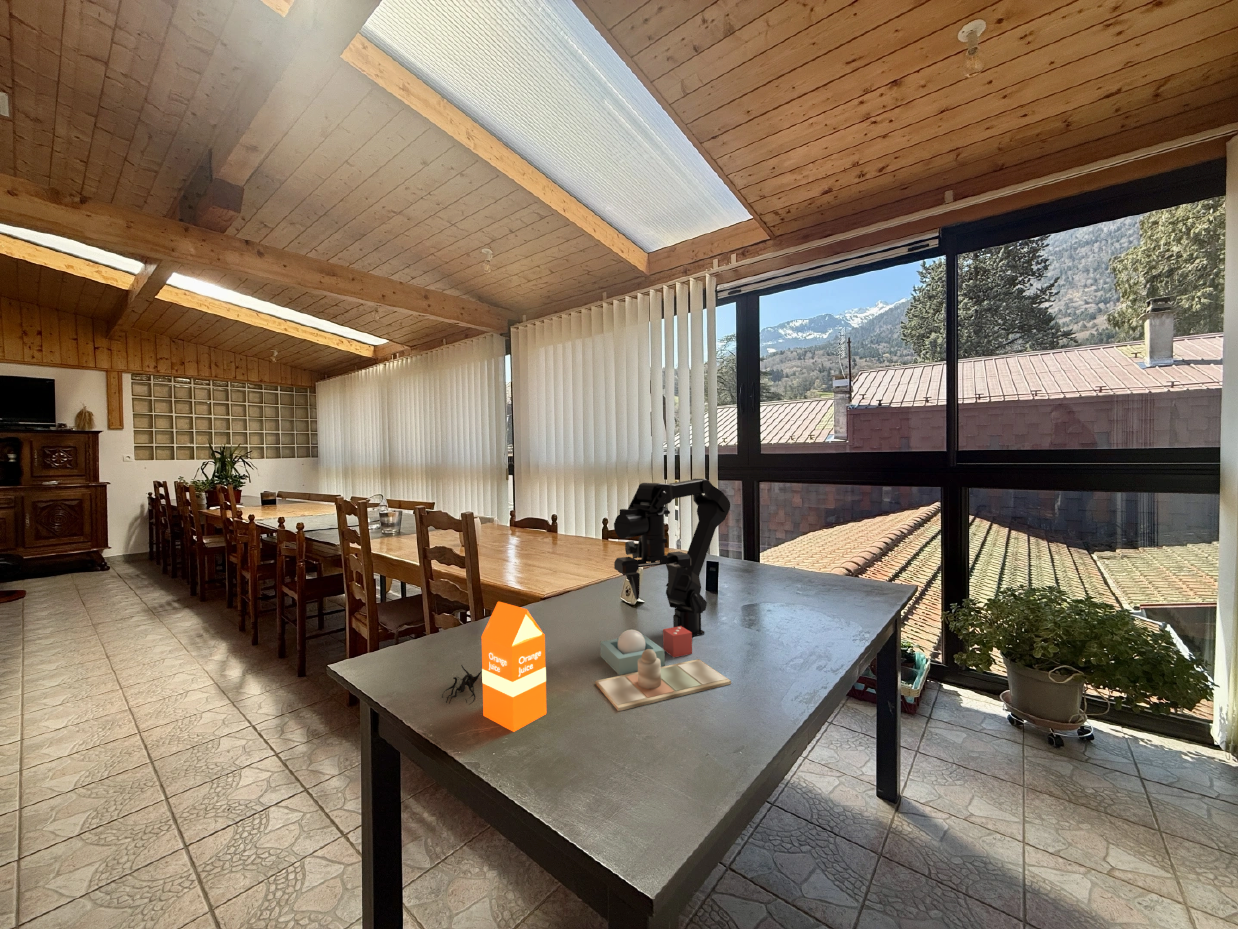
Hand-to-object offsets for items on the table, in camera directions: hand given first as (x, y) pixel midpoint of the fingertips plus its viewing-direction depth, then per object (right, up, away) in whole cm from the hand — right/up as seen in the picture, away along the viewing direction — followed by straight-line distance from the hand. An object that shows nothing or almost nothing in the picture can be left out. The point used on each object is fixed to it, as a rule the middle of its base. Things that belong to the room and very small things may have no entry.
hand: (653, 596), depth 120 cm
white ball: (-6, -12, -9) cm, 16 cm away
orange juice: (-28, -13, -31) cm, 44 cm away
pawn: (-2, -12, -22) cm, 25 cm away
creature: (-40, -13, -24) cm, 48 cm away
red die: (+5, -12, -4) cm, 14 cm away
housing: (-6, -12, -9) cm, 16 cm away
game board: (0, -12, -20) cm, 24 cm away
